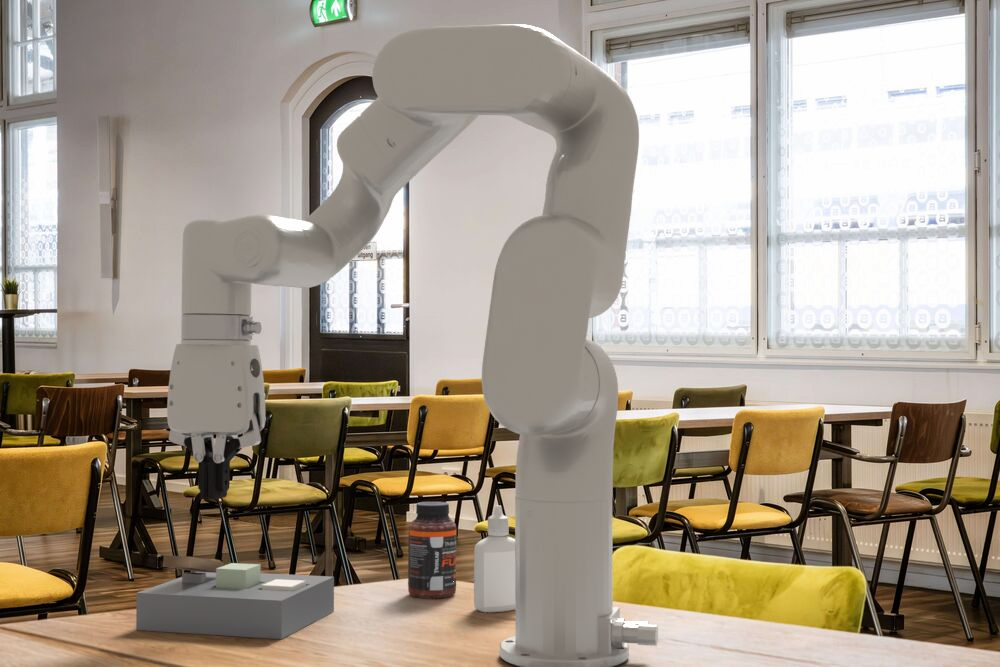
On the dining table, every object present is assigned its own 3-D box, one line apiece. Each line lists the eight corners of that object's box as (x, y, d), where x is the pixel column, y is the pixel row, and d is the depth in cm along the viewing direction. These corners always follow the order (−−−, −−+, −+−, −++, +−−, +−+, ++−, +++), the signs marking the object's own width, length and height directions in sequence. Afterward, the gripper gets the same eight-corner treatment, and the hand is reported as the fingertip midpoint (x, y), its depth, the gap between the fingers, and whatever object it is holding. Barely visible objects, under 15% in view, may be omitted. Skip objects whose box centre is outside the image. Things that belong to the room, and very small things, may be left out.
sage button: (260, 592, 137) (260, 564, 137) (245, 599, 133) (245, 570, 133) (231, 591, 138) (231, 563, 138) (216, 597, 134) (216, 568, 134)
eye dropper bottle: (522, 613, 139) (522, 508, 139) (473, 613, 139) (473, 508, 139) (522, 605, 144) (521, 503, 144) (474, 605, 144) (474, 503, 144)
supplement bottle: (449, 600, 146) (449, 506, 146) (402, 599, 147) (402, 505, 148) (461, 591, 152) (461, 500, 152) (415, 589, 153) (415, 499, 153)
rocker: (222, 572, 140) (224, 560, 141) (188, 567, 133) (190, 554, 133) (197, 571, 141) (199, 559, 141) (162, 566, 134) (164, 553, 134)
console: (333, 611, 140) (333, 567, 140) (281, 639, 127) (281, 591, 127) (200, 604, 145) (200, 561, 145) (136, 630, 131) (136, 583, 131)
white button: (305, 609, 135) (305, 580, 136) (292, 616, 132) (292, 586, 132) (276, 607, 136) (276, 579, 136) (261, 614, 133) (261, 585, 133)
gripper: (292, 333, 136) (290, 497, 136) (173, 331, 140) (171, 491, 140) (262, 332, 129) (259, 505, 129) (137, 330, 133) (135, 498, 133)
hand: (213, 497), depth 134 cm, fingers closed
